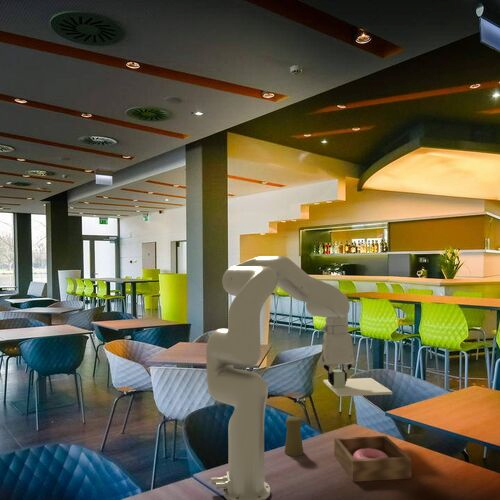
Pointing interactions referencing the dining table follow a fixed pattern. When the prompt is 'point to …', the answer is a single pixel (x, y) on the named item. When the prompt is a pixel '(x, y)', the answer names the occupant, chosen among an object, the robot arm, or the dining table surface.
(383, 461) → the open wooden box
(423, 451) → the dining table surface
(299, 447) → the cork
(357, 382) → the lid
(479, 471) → the dining table surface
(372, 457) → the doughnut
